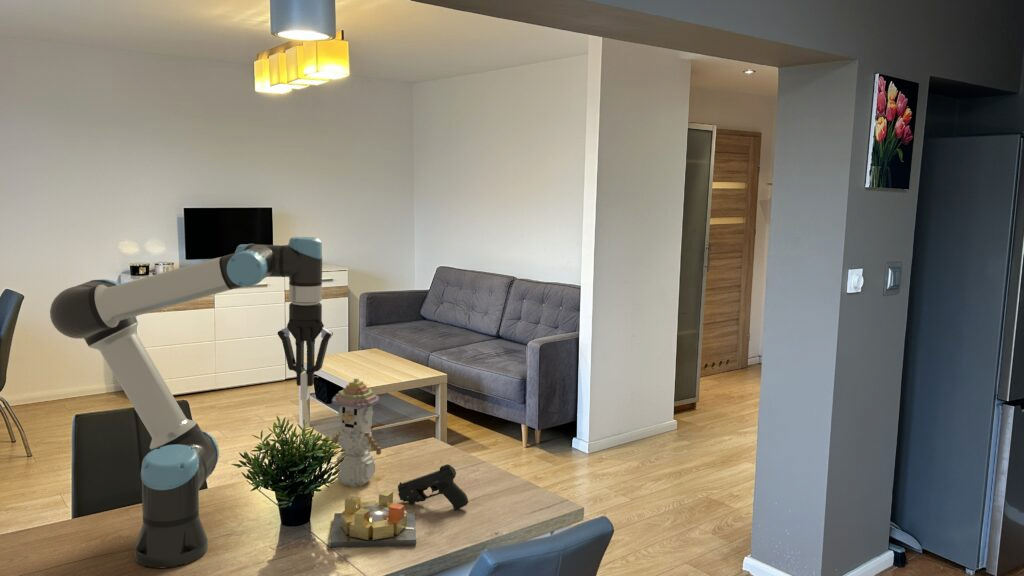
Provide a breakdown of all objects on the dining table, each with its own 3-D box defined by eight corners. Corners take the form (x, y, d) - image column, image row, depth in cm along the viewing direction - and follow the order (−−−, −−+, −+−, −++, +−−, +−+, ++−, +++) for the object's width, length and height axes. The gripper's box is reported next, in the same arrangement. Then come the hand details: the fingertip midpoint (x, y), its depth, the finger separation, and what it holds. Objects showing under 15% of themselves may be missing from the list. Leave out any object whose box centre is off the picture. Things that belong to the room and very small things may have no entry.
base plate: (329, 548, 183) (329, 527, 182) (334, 518, 199) (334, 499, 198) (416, 545, 186) (416, 524, 185) (414, 516, 202) (414, 497, 201)
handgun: (468, 506, 206) (450, 464, 205) (411, 525, 210) (393, 484, 209) (470, 503, 208) (453, 461, 207) (413, 521, 212) (396, 481, 211)
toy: (318, 484, 220) (319, 380, 216) (342, 469, 232) (343, 370, 227) (368, 494, 215) (369, 387, 211) (390, 478, 226) (392, 377, 222)
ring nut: (387, 543, 183) (387, 519, 182) (330, 532, 187) (331, 508, 186) (415, 518, 197) (415, 495, 196) (362, 508, 201) (362, 486, 201)
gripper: (336, 301, 190) (335, 395, 193) (283, 298, 190) (283, 393, 193) (328, 306, 182) (328, 404, 186) (273, 303, 183) (273, 401, 186)
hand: (305, 398), depth 190 cm, fingers closed
